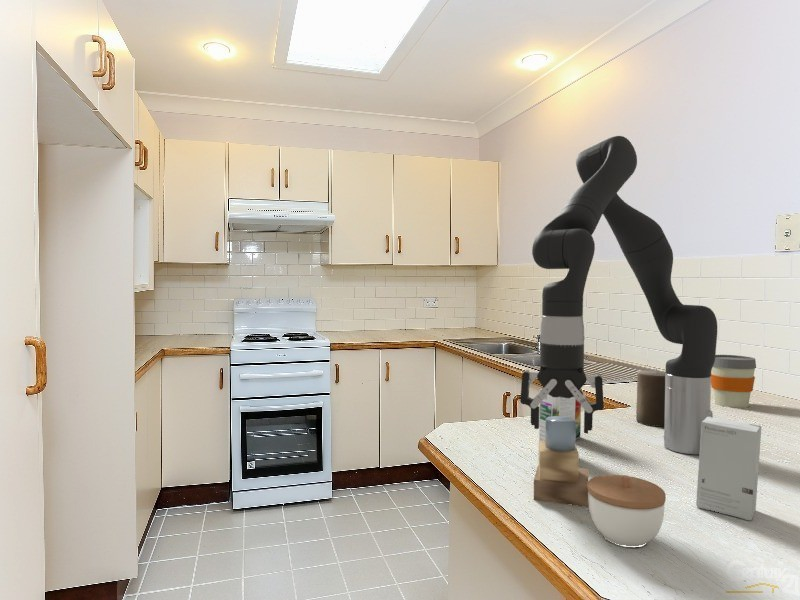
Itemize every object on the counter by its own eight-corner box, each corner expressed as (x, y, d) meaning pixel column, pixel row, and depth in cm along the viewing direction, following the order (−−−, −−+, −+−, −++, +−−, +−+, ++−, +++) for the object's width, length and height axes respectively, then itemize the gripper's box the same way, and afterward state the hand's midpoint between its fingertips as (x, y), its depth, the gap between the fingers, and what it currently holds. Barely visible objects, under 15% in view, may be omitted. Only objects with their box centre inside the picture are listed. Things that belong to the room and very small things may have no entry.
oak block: (574, 469, 97) (574, 442, 97) (578, 482, 91) (578, 454, 91) (538, 466, 99) (538, 440, 99) (539, 479, 93) (539, 451, 92)
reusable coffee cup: (754, 403, 167) (755, 356, 167) (756, 411, 157) (757, 361, 156) (709, 398, 174) (709, 353, 174) (707, 405, 163) (708, 358, 163)
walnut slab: (588, 490, 98) (588, 469, 98) (587, 509, 89) (588, 486, 89) (538, 483, 101) (538, 463, 101) (533, 502, 92) (533, 479, 92)
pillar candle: (666, 429, 137) (668, 372, 137) (629, 421, 144) (631, 367, 144) (681, 423, 143) (682, 368, 143) (645, 416, 151) (646, 364, 150)
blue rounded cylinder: (575, 444, 96) (576, 417, 96) (574, 453, 91) (575, 424, 91) (546, 441, 98) (546, 415, 98) (544, 449, 93) (544, 421, 93)
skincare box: (695, 508, 89) (697, 421, 89) (703, 497, 94) (704, 414, 93) (755, 522, 84) (757, 430, 83) (759, 510, 88) (761, 422, 88)
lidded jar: (585, 548, 75) (586, 484, 75) (587, 517, 85) (588, 460, 85) (669, 563, 72) (670, 495, 71) (660, 528, 82) (661, 469, 81)
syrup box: (537, 451, 119) (538, 388, 118) (558, 448, 121) (559, 386, 121) (554, 459, 114) (555, 392, 113) (575, 455, 116) (576, 390, 115)
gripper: (603, 340, 95) (602, 428, 96) (524, 337, 100) (523, 421, 101) (605, 344, 88) (603, 440, 89) (519, 341, 93) (518, 431, 94)
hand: (560, 430), depth 95 cm, fingers open, 8 cm apart
